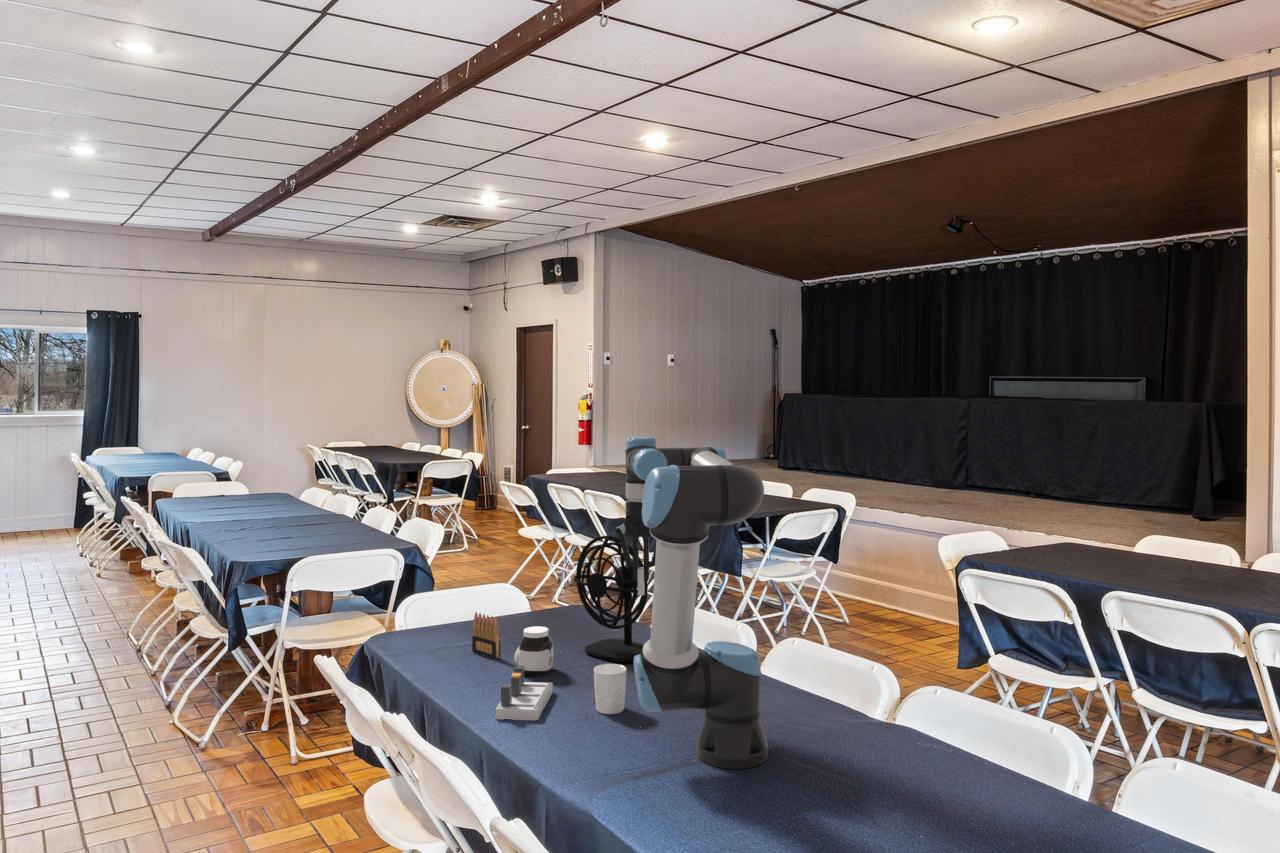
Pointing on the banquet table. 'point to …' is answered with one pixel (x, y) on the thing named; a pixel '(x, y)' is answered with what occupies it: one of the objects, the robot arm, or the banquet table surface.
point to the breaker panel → (527, 702)
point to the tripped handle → (516, 684)
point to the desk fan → (598, 588)
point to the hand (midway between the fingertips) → (641, 594)
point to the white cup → (610, 688)
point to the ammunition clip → (485, 636)
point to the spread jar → (535, 651)
